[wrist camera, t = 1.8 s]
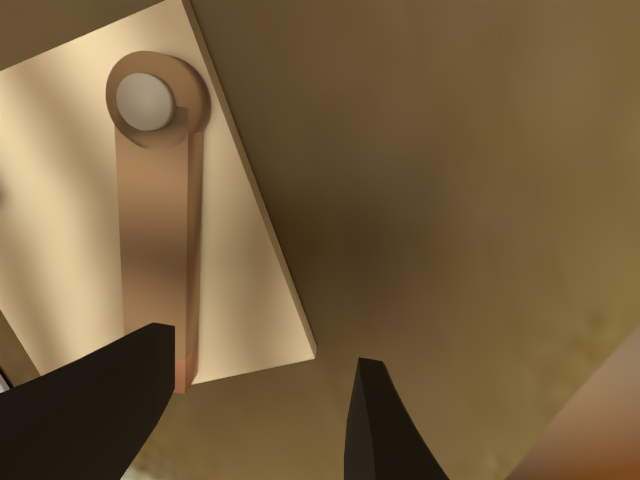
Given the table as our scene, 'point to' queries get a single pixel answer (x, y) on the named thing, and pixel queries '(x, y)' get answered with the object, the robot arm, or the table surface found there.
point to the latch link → (160, 195)
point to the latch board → (103, 219)
